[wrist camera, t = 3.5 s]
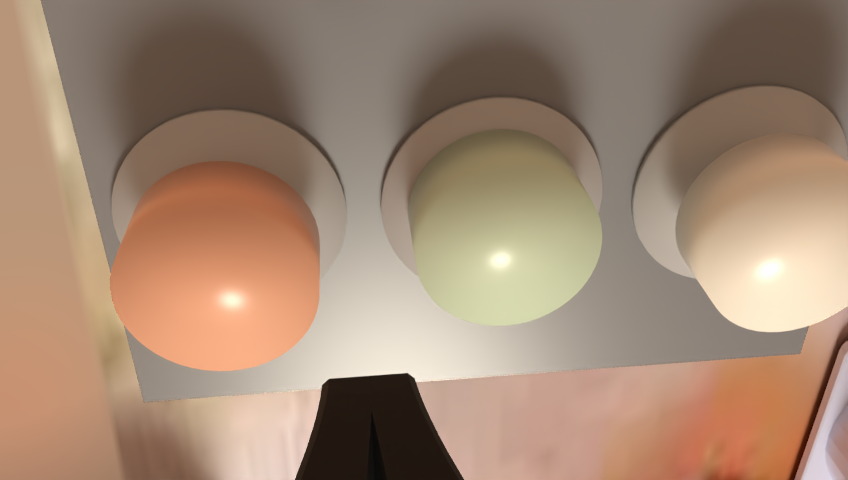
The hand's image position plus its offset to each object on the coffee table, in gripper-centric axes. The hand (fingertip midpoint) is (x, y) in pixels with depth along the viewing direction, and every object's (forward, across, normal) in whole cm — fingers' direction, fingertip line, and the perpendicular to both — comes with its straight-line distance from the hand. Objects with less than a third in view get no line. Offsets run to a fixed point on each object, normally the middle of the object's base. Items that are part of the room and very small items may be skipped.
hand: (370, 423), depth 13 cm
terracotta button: (+6, +3, 0) cm, 6 cm away
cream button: (+6, -9, 0) cm, 11 cm away
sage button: (+7, -3, 0) cm, 7 cm away
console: (+10, -3, 0) cm, 10 cm away
